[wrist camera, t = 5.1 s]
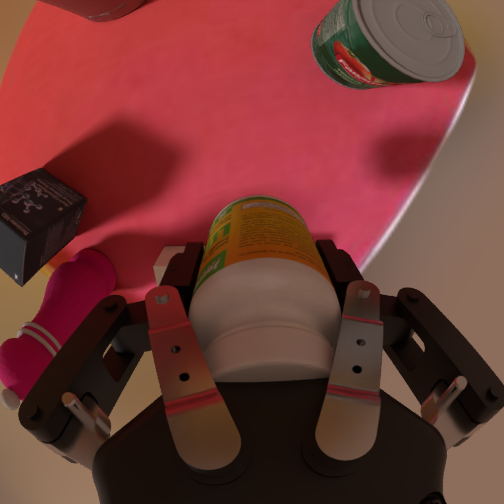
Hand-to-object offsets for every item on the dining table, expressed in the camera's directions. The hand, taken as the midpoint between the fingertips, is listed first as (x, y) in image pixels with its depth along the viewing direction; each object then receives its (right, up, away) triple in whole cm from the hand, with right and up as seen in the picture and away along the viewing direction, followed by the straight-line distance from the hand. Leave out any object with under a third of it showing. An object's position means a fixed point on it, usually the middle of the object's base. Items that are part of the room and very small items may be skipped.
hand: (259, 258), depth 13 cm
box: (-22, +6, +11) cm, 26 cm away
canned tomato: (+9, +18, +5) cm, 21 cm away
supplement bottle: (0, +1, +2) cm, 2 cm away
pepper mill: (-19, -2, +16) cm, 25 cm away
